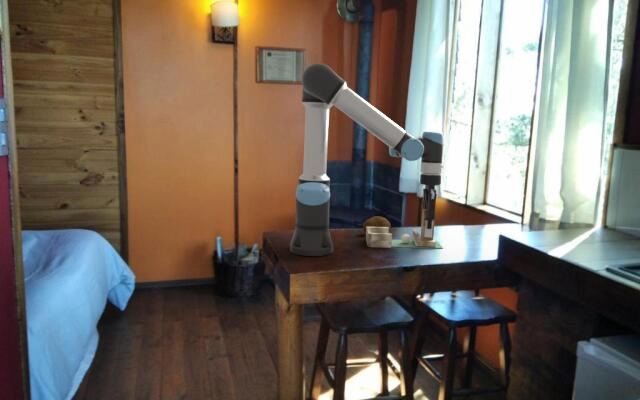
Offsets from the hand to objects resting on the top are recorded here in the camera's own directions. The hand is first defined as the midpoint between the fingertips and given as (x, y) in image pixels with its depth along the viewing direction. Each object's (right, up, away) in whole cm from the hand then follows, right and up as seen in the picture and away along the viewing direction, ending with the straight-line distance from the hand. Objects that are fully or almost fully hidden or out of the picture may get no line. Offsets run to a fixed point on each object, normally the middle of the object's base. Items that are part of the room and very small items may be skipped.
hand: (427, 235), depth 194 cm
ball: (-8, -1, 0) cm, 8 cm away
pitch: (-8, -3, +1) cm, 9 cm away
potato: (-17, -1, +15) cm, 23 cm away
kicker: (-1, -4, +1) cm, 4 cm away
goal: (-18, -3, +1) cm, 18 cm away
